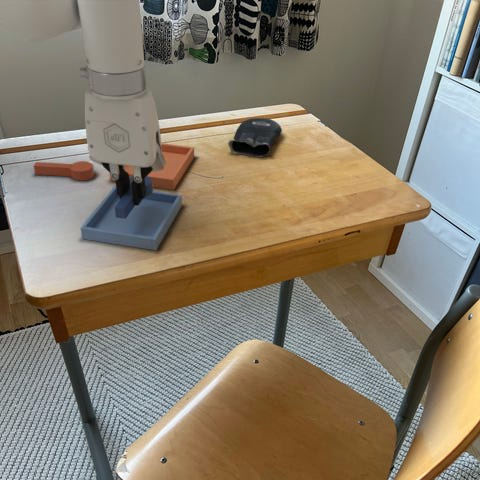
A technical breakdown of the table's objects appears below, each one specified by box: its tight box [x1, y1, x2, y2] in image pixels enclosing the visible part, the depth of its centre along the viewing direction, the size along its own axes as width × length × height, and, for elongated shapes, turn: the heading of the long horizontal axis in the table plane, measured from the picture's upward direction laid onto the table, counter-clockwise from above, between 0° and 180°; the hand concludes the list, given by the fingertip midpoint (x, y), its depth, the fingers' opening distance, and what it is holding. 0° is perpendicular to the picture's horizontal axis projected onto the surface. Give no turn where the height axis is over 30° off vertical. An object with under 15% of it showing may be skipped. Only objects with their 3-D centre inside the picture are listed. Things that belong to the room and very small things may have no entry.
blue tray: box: [79, 185, 183, 251], centre depth 85 cm, size 12×14×2 cm
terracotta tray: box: [109, 142, 195, 191], centre depth 99 cm, size 12×14×2 cm
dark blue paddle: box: [114, 176, 154, 219], centre depth 82 cm, size 11×4×2 cm, turn 168°
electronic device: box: [227, 117, 283, 158], centre depth 109 cm, size 9×6×15 cm
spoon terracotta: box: [33, 160, 95, 181], centre depth 96 cm, size 11×4×2 cm, turn 88°
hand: (132, 199), depth 82 cm, fingers closed on dark blue paddle, 1 cm apart
